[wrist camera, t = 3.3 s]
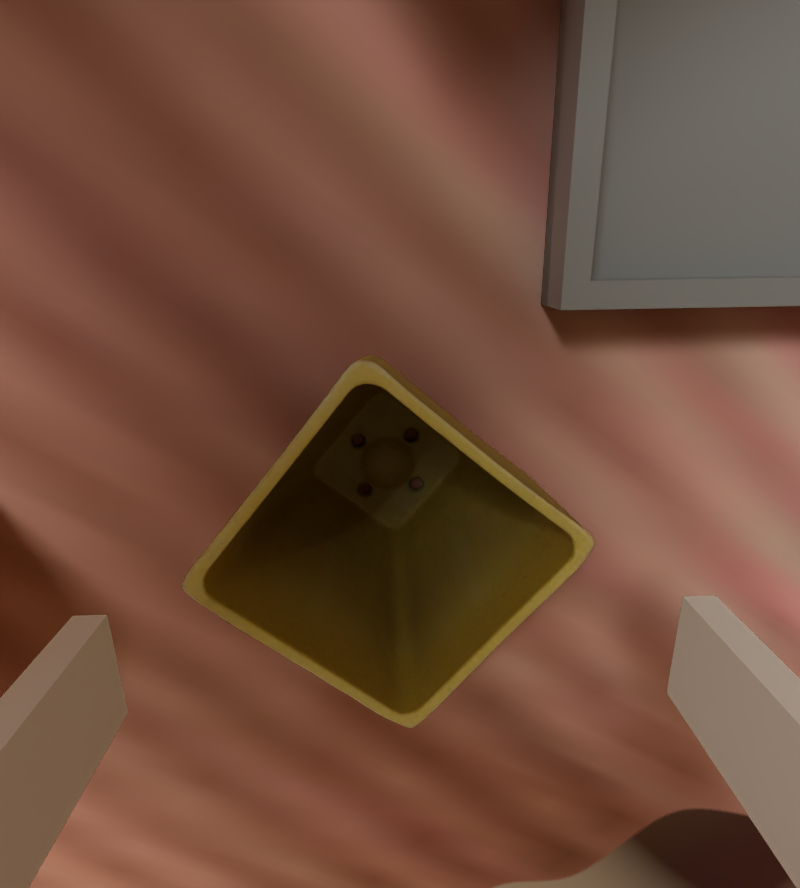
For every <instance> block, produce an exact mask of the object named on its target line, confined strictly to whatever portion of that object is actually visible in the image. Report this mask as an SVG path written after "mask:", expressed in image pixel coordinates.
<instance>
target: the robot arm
mask: <svg viewBox="0 0 800 888" xmlns="http://www.w3.org/2000/svg"><path fill="white" fill-rule="evenodd" d="M667 694H668V696H669V697H670V699H671V700H672V702H673V703H674V705H675V706H676V708H677V709H678V711H679V712H680V714H681V715H682V717H683V718H684V720H685V721H686V723H687V724H688V726H689V727H690V729H691V730H692V732H693V733H694V735H695V736H696V738H697V739H698V741H699V742H700V744H701V745H702V747H703V748H704V750H705V751H706V753H707V754H708V756H709V757H710V759H711V760H712V762H713V763H714V765H715V766H716V768H717V769H718V771H719V772H720V774H721V775H722V777H723V778H724V780H725V781H726V783H727V784H728V786H729V787H730V789H731V790H732V792H733V793H734V795H735V796H736V798H737V799H738V801H739V802H740V804H741V805H742V807H743V808H744V810H745V811H746V813H747V814H748V816H749V817H750V819H751V820H752V822H753V823H754V825H755V826H756V828H757V829H758V830H759V832H760V834H761V835H762V837H763V838H764V840H765V841H766V842H767V844H768V846H769V847H770V849H771V850H772V852H773V853H774V855H775V856H776V858H777V859H778V861H779V862H780V864H781V865H782V867H783V868H784V869H785V871H786V873H787V874H788V876H789V877H790V879H791V880H792V882H793V883H794V885H795V886H796V888H800V678H799V677H798V676H797V675H796V674H795V673H794V672H793V671H792V670H791V669H790V668H789V667H788V666H786V665H785V664H784V663H783V662H782V661H781V660H780V659H779V658H778V657H777V656H776V655H775V654H774V653H773V652H772V651H771V650H770V649H769V648H768V647H767V646H766V645H765V644H764V643H763V642H762V641H761V640H760V639H759V638H758V637H757V636H756V635H755V634H754V633H753V632H752V631H751V630H750V629H749V628H748V627H747V626H746V625H745V624H744V623H743V622H742V621H741V620H740V619H739V618H738V617H737V616H736V615H735V614H734V613H733V612H732V611H731V610H730V609H729V608H728V607H727V606H726V605H725V604H724V603H723V602H722V601H721V600H720V599H719V598H718V597H717V596H716V595H711V596H683V599H682V605H681V611H680V617H679V623H678V628H677V634H676V640H675V646H674V652H673V658H672V664H671V669H670V675H669V681H668V687H667ZM127 713H128V710H127V705H126V700H125V695H124V691H123V686H122V681H121V677H120V672H119V667H118V663H117V658H116V653H115V648H114V644H113V639H112V634H111V630H110V625H109V620H108V616H107V615H78V616H72V617H71V618H70V619H69V620H68V622H67V623H66V624H65V625H64V626H63V627H62V628H61V630H60V631H59V632H58V633H57V634H56V635H55V636H54V638H53V639H52V640H51V641H50V642H49V643H48V644H47V645H46V647H45V648H44V649H43V650H42V651H41V652H40V653H39V655H38V656H37V657H36V658H35V659H34V660H33V661H32V663H31V664H30V665H29V666H28V667H27V668H26V669H25V671H24V672H23V673H22V674H21V675H20V676H19V677H18V678H17V680H16V681H15V682H14V683H13V684H12V685H11V686H10V688H9V689H8V690H7V691H6V692H5V693H4V694H3V696H2V697H1V698H0V888H29V887H30V885H31V883H32V881H33V880H34V878H35V876H36V874H37V873H38V871H39V869H40V867H41V866H42V864H43V862H44V860H45V858H46V857H47V855H48V853H49V851H50V850H51V848H52V846H53V844H54V843H55V841H56V839H57V837H58V835H59V834H60V832H61V830H62V828H63V827H64V825H65V823H66V821H67V820H68V818H69V816H70V814H71V812H72V811H73V809H74V807H75V805H76V804H77V802H78V800H79V798H80V797H81V795H82V793H83V791H84V789H85V788H86V786H87V784H88V782H89V781H90V779H91V777H92V775H93V774H94V772H95V770H96V768H97V766H98V765H99V763H100V761H101V759H102V758H103V756H104V754H105V752H106V751H107V749H108V747H109V745H110V743H111V742H112V740H113V738H114V736H115V735H116V733H117V731H118V729H119V728H120V726H121V724H122V722H123V720H124V719H125V717H126V715H127Z"/></svg>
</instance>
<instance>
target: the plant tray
mask: <svg viewBox="0 0 800 888" xmlns="http://www.w3.org/2000/svg"><path fill="white" fill-rule="evenodd" d="M541 305H544V306H548V307H551V308H555V309H558V310H601V309H657V308H712V307H767V306H800V0H562V2H561V17H560V31H559V46H558V61H557V76H556V90H555V105H554V120H553V134H552V149H551V164H550V179H549V193H548V208H547V223H546V237H545V252H544V267H543V281H542V296H541Z"/></svg>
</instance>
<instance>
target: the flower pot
mask: <svg viewBox="0 0 800 888" xmlns="http://www.w3.org/2000/svg"><path fill="white" fill-rule="evenodd" d="M411 428H412V429H415V430H416V432H417V437H416V439H415V440H413V441H408V440H406V439H405V437H404V433H405V431H406V430H408V429H411ZM356 434H361V435H362V436H363V437H364V438H365V443H364V444H363V445H362V446H355V445H354V444H353V443H352V437H353V436H354V435H356ZM415 477H416V478H419V479H421V480H422V485H421V486H420V487H419V488H418V489H413V488H411V487H410V484H409V483H410V480H411V479H413V478H415ZM362 483H366V484H369V485H370V486H371V491H370V493H368V494H361V493H360V492H359V490H358V487H359V486H360V485H361V484H362ZM594 544H595V543H594V540H593V538H592V536H591V535H590V534H589V532H587V531H586V530H585V529H584V528H583V527H582V526H581V525H580V524H579V523H578V522H577V521H576V520H575V519H574V518H573V517H572V516H570V515H569V514H568V513H567V512H566V511H565V510H564V509H563V508H562V507H561V506H560V505H559V504H558V503H557V502H556V501H555V500H554V499H553V498H552V497H551V496H549V495H548V494H547V493H546V492H545V491H544V490H543V489H542V488H541V487H540V486H539V485H538V484H537V483H536V482H535V481H534V480H533V479H532V478H530V477H529V476H528V475H527V474H526V473H524V472H523V471H522V470H520V469H519V468H518V467H516V466H515V465H514V464H512V463H511V462H510V461H508V460H507V459H506V458H504V457H503V456H502V455H501V454H499V453H498V452H497V451H495V450H494V449H493V448H492V447H490V446H489V445H488V444H487V443H485V442H484V441H483V440H481V439H480V438H479V437H478V436H476V435H475V434H474V433H472V432H471V431H470V430H469V429H467V428H466V427H465V426H463V425H462V424H461V423H460V422H458V421H457V420H456V419H455V418H454V417H452V416H451V415H450V414H449V413H447V412H446V411H445V410H444V409H443V408H441V407H440V406H439V405H438V404H437V403H435V402H434V401H433V400H432V399H430V398H429V397H428V396H427V395H426V394H424V393H423V392H422V391H421V390H420V389H418V388H417V387H416V386H415V385H413V384H412V383H411V382H410V381H409V380H407V379H406V378H405V377H404V376H403V375H401V374H400V373H399V372H398V371H397V370H395V369H394V368H393V367H392V366H391V365H389V364H388V363H387V362H386V361H384V360H383V359H381V358H380V357H378V356H375V355H367V356H364V357H362V358H360V359H359V360H358V361H356V362H355V363H353V364H352V365H350V366H349V367H348V368H347V370H346V371H345V372H344V373H343V374H342V376H341V377H340V378H339V380H338V381H337V383H336V384H335V385H334V387H333V388H332V389H331V391H330V392H329V393H328V395H327V396H326V397H325V399H324V400H323V401H322V403H321V404H320V405H319V406H318V408H317V409H316V410H315V412H314V413H313V414H312V415H311V417H310V418H309V419H308V421H307V422H306V423H305V425H304V426H303V427H302V428H301V430H300V431H299V432H298V434H297V435H296V436H295V437H294V439H293V440H292V441H291V443H290V444H289V445H288V446H287V448H286V449H285V450H284V452H283V453H282V454H281V455H280V457H279V458H278V459H277V460H276V462H275V463H274V464H273V466H272V467H271V468H270V469H269V471H268V472H267V473H266V475H265V476H264V477H263V478H262V480H261V481H260V482H259V483H258V485H257V486H256V487H255V489H254V490H253V491H252V492H251V493H250V495H249V496H248V497H247V498H246V500H245V501H244V502H243V504H242V505H241V506H240V507H239V509H238V510H237V511H236V512H235V514H234V515H233V516H232V517H231V519H230V520H229V521H228V522H227V524H226V525H225V526H224V528H223V529H222V530H221V531H220V533H219V534H218V535H217V537H216V538H215V539H214V540H213V542H212V543H211V544H210V546H209V547H208V548H207V549H206V550H205V552H204V553H203V554H202V555H201V556H200V558H199V559H198V560H197V561H196V562H195V564H194V565H193V566H192V568H191V569H190V570H189V572H188V573H187V575H186V577H185V579H184V581H183V585H182V587H183V590H184V591H185V592H186V593H187V594H188V595H189V596H190V597H191V598H193V599H194V600H195V601H196V602H198V603H199V604H200V605H202V606H203V607H205V608H206V609H208V610H210V611H212V612H213V613H215V614H216V615H217V616H219V617H220V618H222V619H223V620H225V621H227V622H228V623H230V624H231V625H233V626H234V627H236V628H238V629H239V630H241V631H243V632H244V633H246V634H247V635H249V636H251V637H253V638H255V639H256V640H258V641H260V642H261V643H263V644H265V645H266V646H268V647H269V648H271V649H273V650H274V651H276V652H278V653H279V654H281V655H282V656H284V657H285V658H287V659H289V660H290V661H292V662H294V663H296V664H297V665H299V666H301V667H303V668H304V669H306V670H308V671H309V672H311V673H313V674H314V675H316V676H318V677H319V678H321V679H322V680H324V681H326V682H327V683H329V684H330V685H332V686H333V687H335V688H337V689H338V690H340V691H342V692H344V693H345V694H347V695H349V696H350V697H352V698H353V699H355V700H356V701H358V702H360V703H361V704H363V705H364V706H366V707H367V708H369V709H370V710H372V711H374V712H375V713H377V714H379V715H381V716H383V717H384V718H386V719H389V720H391V721H393V722H395V723H398V724H400V725H402V726H405V727H407V728H412V727H415V726H416V725H418V724H419V723H420V722H422V721H423V720H424V719H425V718H426V717H427V716H428V715H429V714H431V713H432V712H433V711H434V710H435V709H436V708H437V707H438V706H439V705H440V704H441V703H442V702H443V701H444V700H445V699H446V698H447V697H448V696H449V695H450V694H451V693H452V692H453V691H454V690H455V689H456V688H457V687H458V685H460V684H461V683H462V682H463V680H465V679H466V678H467V677H468V676H469V675H470V674H471V673H472V672H473V671H474V670H475V669H476V668H477V667H478V666H479V665H480V664H481V663H482V662H483V661H484V660H485V659H486V658H487V657H488V656H489V655H490V654H491V652H492V651H493V650H494V649H495V648H496V647H497V646H498V645H499V644H500V643H502V642H503V641H504V640H505V639H506V638H507V637H508V636H509V635H510V634H511V633H512V632H513V631H514V630H515V629H516V628H517V627H518V626H519V625H520V624H521V623H522V622H523V621H524V620H525V619H526V618H527V617H528V616H529V615H531V614H532V613H533V612H534V611H535V610H536V609H537V608H538V607H539V606H540V605H541V604H542V603H543V602H544V601H545V600H546V599H547V598H548V597H549V596H551V594H552V593H553V592H555V591H556V590H557V589H558V588H559V587H560V586H561V585H562V584H563V583H564V582H565V581H566V580H567V579H568V578H569V577H570V576H571V575H572V574H573V573H574V572H575V571H576V570H577V569H578V568H579V567H580V565H581V564H582V563H583V562H584V560H585V559H586V558H587V556H588V555H589V553H590V552H591V550H592V548H593V547H594Z"/></svg>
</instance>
